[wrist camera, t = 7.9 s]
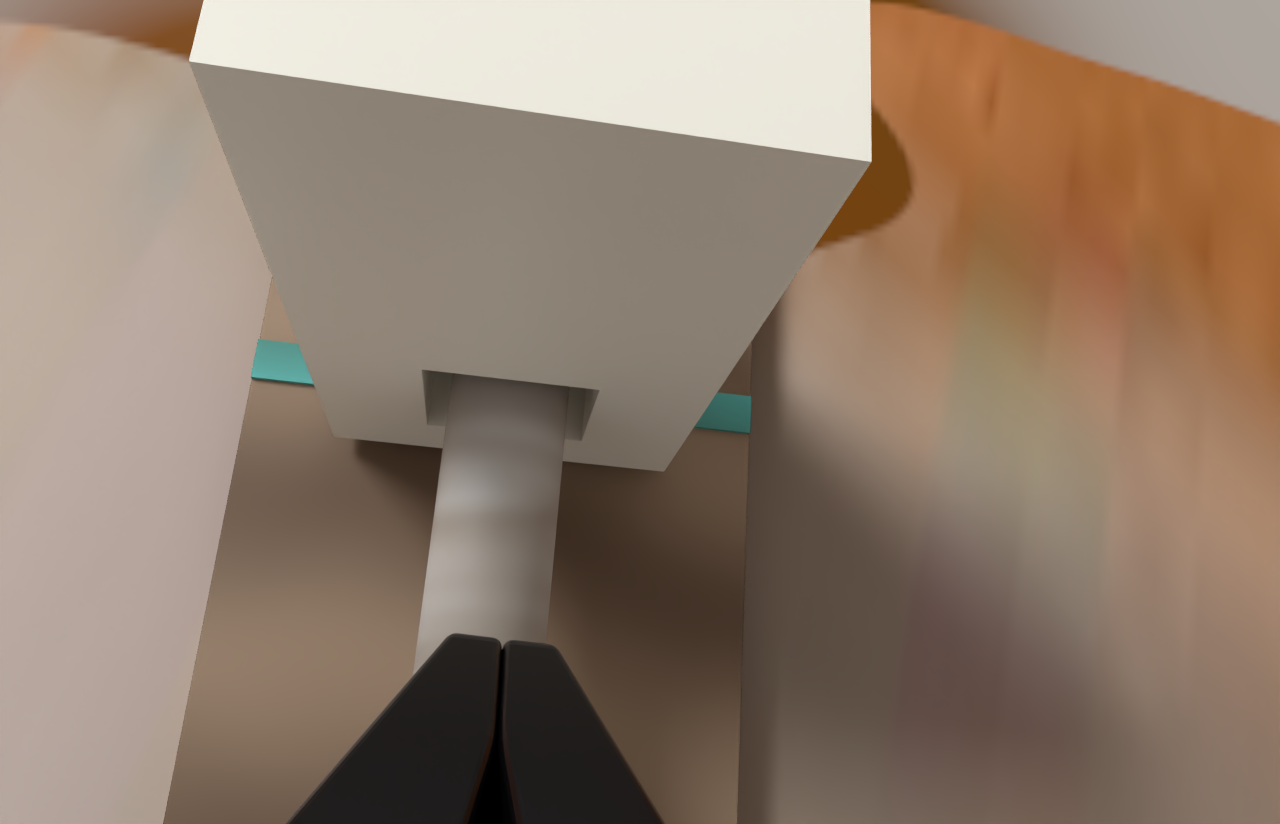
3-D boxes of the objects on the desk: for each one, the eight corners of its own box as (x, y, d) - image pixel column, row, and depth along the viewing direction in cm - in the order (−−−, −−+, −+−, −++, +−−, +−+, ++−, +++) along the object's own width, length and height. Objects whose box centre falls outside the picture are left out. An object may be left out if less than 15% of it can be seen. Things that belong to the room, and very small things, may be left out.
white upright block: (664, 471, 21) (871, 161, 10) (334, 437, 20) (189, 61, 10) (675, 289, 22) (868, -152, 12) (365, 250, 21) (268, -264, 11)
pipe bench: (716, 1061, 19) (803, 1162, 14) (135, 1041, 18) (9, 1145, 13) (745, 227, 25) (815, 91, 20) (305, 167, 23) (263, 6, 18)
